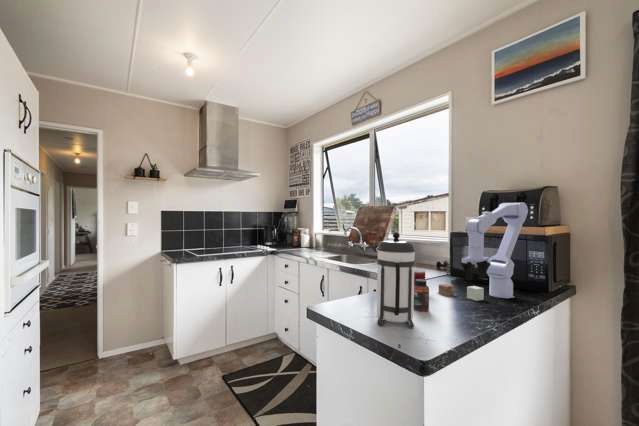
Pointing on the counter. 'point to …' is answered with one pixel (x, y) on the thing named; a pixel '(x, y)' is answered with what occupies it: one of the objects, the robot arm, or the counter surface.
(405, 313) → the coffee press
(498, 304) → the counter surface
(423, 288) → the supplement bottle
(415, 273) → the canned food
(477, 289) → the sage block
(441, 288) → the walnut block
